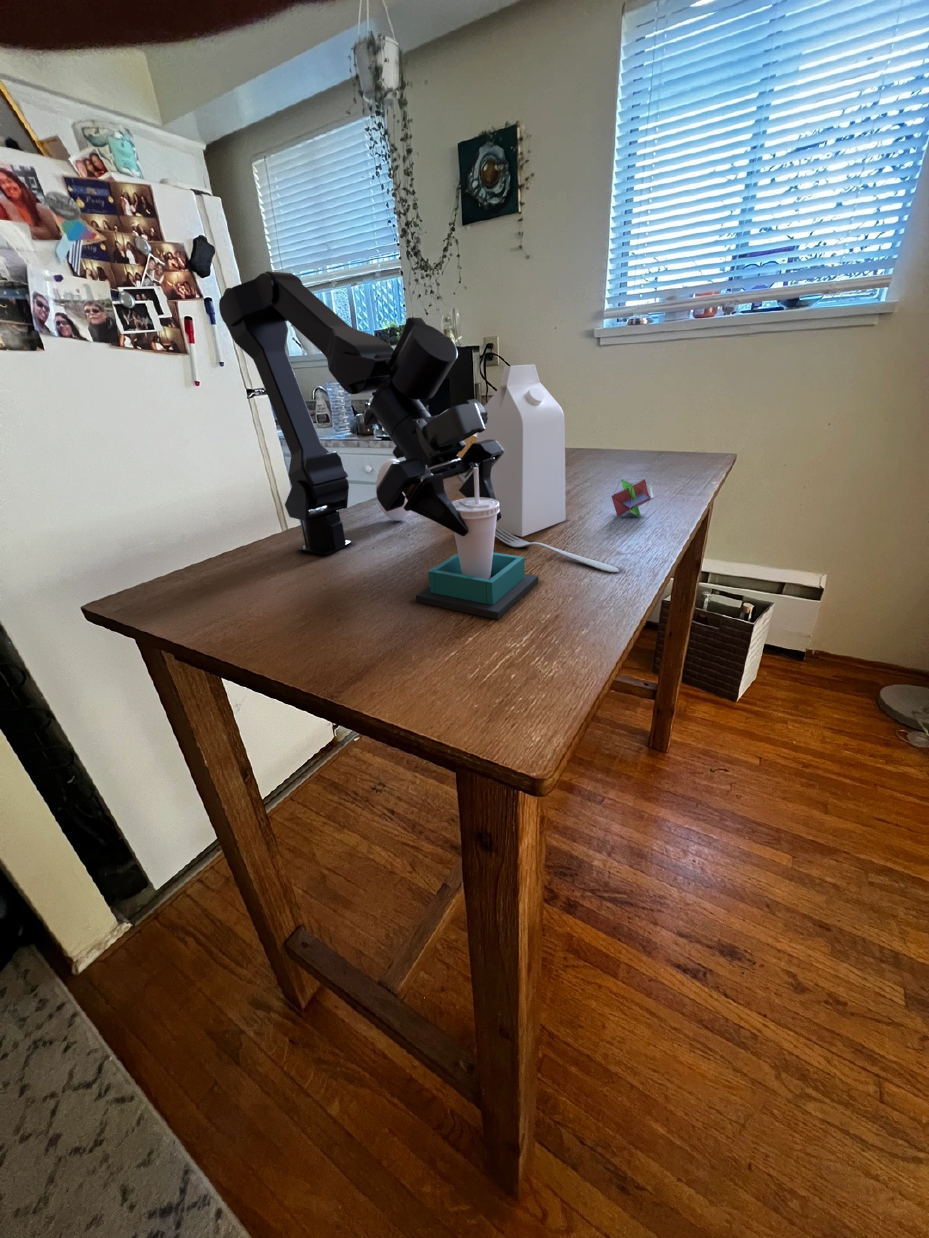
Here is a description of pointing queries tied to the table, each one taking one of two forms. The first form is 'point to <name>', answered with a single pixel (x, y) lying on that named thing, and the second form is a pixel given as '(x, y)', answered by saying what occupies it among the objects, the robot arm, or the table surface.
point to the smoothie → (477, 532)
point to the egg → (399, 512)
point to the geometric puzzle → (631, 497)
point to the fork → (578, 558)
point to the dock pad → (478, 586)
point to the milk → (527, 452)
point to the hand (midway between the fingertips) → (483, 526)
